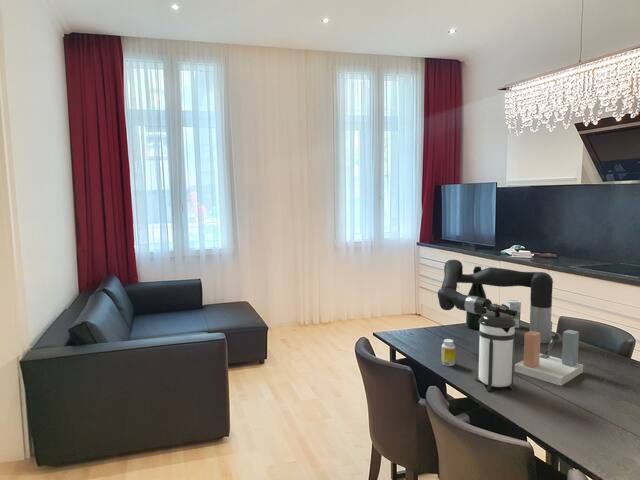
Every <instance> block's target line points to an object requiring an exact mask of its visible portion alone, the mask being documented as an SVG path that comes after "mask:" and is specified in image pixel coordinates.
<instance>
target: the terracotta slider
mask: <svg viewBox="0 0 640 480" xmlns="http://www.w3.org/2000/svg"><path fill="white" fill-rule="evenodd" d="M540 337H541V333H539V332H534V331H527V332H524V338H523V339H524V341H523V342H524V343H523V344H524V345H523V360H524V362H523V365H526V366H530V367H533V368H534V367H535V366H537V365H539V360H540V354H541V343H540Z"/></svg>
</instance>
